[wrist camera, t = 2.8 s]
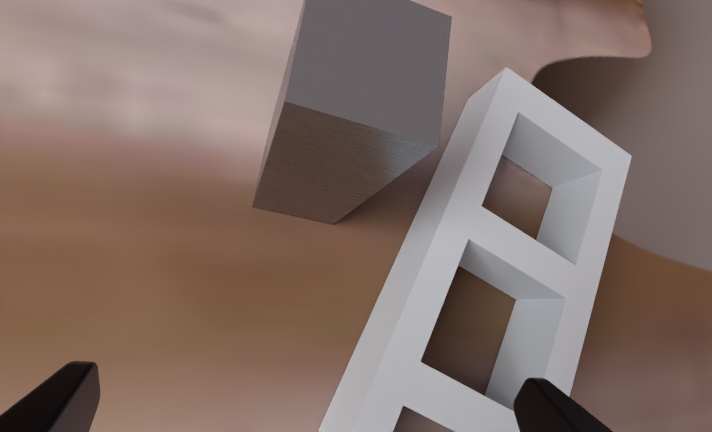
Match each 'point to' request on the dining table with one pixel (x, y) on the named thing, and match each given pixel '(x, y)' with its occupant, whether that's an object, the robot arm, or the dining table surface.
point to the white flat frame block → (491, 266)
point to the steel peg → (353, 105)
